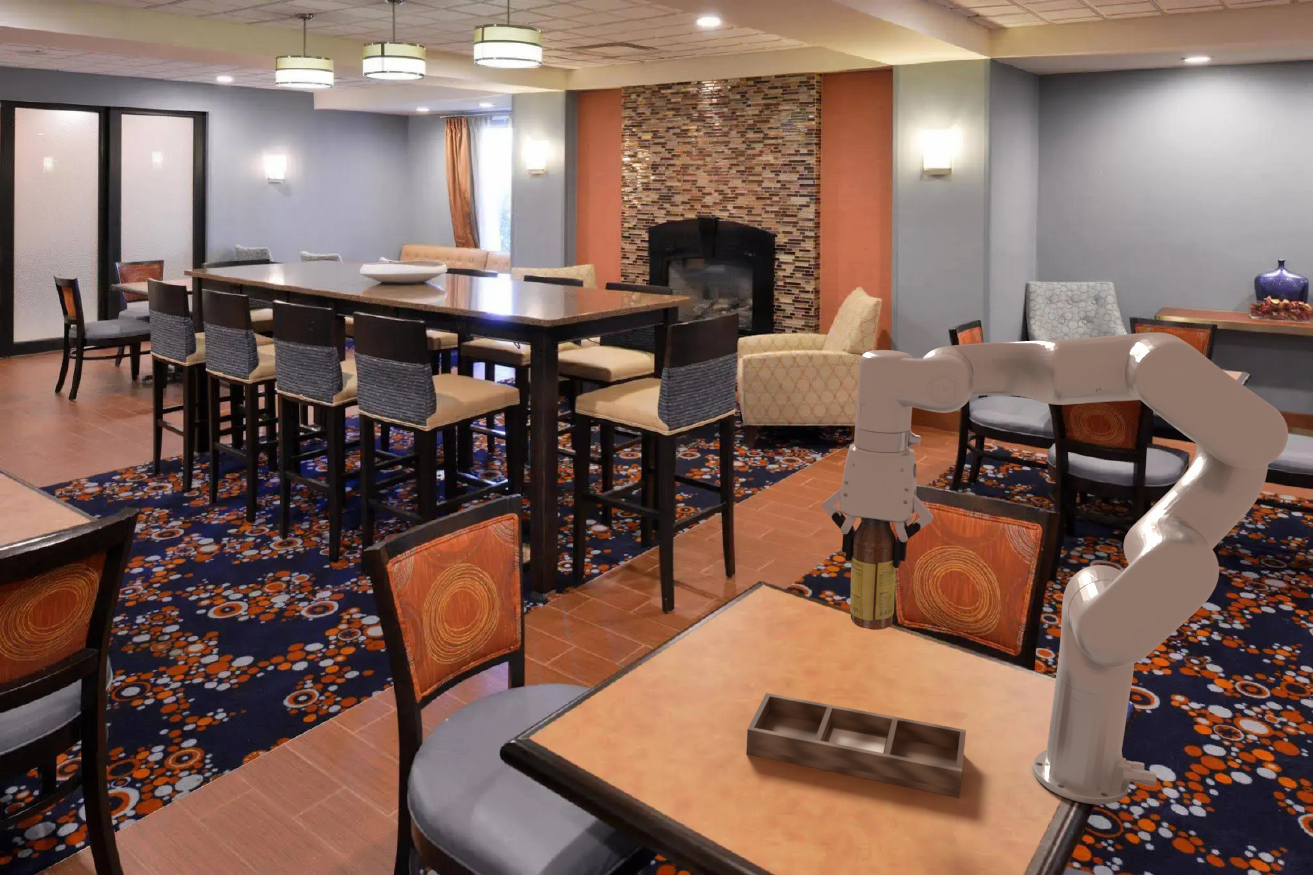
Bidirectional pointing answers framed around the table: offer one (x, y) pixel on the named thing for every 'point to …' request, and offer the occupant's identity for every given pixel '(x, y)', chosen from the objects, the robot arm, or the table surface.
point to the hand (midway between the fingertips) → (873, 560)
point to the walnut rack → (858, 743)
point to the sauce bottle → (872, 575)
